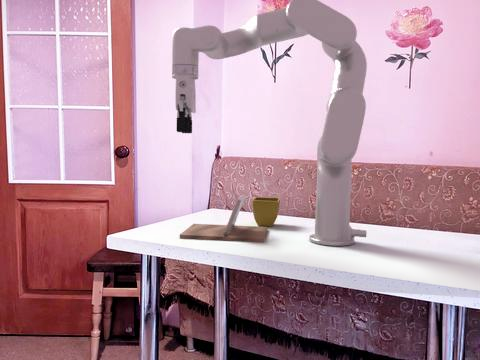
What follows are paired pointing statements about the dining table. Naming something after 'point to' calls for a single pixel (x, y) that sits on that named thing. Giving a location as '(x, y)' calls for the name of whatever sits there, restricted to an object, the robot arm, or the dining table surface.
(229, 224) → the tile
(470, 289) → the dining table surface
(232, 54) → the robot arm
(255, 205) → the flower pot
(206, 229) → the hinge board
